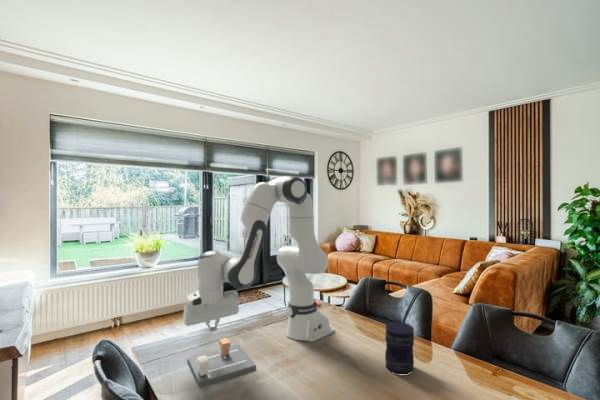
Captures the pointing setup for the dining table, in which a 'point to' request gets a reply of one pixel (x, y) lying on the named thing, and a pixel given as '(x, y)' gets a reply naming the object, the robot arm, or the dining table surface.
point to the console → (222, 365)
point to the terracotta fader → (224, 346)
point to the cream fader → (203, 365)
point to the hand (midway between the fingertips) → (212, 330)
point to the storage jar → (399, 347)
